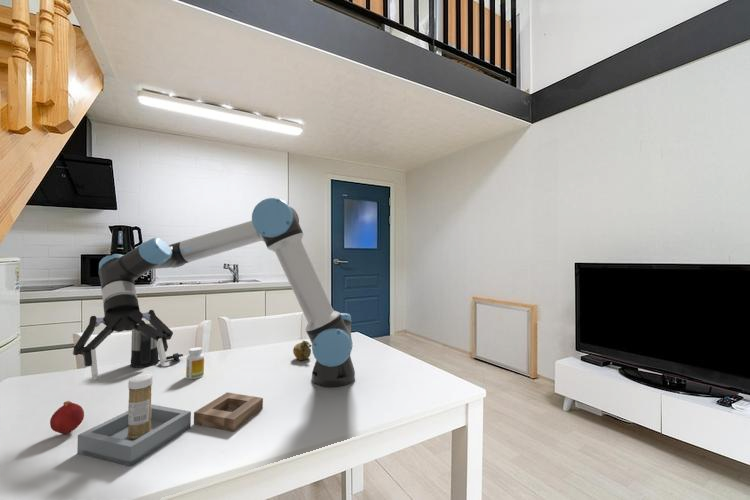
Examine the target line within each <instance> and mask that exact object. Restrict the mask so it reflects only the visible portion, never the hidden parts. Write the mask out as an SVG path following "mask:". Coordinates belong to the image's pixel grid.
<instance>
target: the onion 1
mask: <svg viewBox="0 0 750 500" xmlns="http://www.w3.org/2000/svg"><path fill="white" fill-rule="evenodd" d="M84 418H85V410H84V409H83V407H82V405H79V404H77V403H74V402H72V401H70V400H66V401H64V402H63V405H62V406H60V407H59V408H58V409H57V410H56V411H55V412H54V413H53V414H52V416H51V417H50V420H49V424H50V429H51V430H52V431H53V432H55V433H59V434H62V435H64V436H65V435H66V436H67V435H69V434H71V433H72V432H73V431H75V430H76V429H77V428H78V427H79V426H80V425H81V423H83V421H84Z"/></svg>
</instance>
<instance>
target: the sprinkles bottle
mask: <svg viewBox="0 0 750 500" xmlns="http://www.w3.org/2000/svg"><path fill="white" fill-rule="evenodd" d="M153 379H154V377H153V375H152V374H149V373H147V374H145V373H144V374H139V375H134V376H132V377H130V378H129V379H128V383H127V384H128V385H127V387H128V407H127V408H128V410H127V411H128V435H127V437H128V438H129V439H138V438H140V437H141V436H143V435H145V434H147V433H148V432H150V431H151V404H152V385H153V383H154V382H153Z"/></svg>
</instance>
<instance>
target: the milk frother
mask: <svg viewBox="0 0 750 500" xmlns="http://www.w3.org/2000/svg"><path fill="white" fill-rule="evenodd" d="M147 324H148V325H150V326H151V327H153V328H155V327H154V326H153V325H152V324H151V323H150V322H149V323H147ZM155 329H156V328H155ZM156 330H157V329H156ZM156 344H157V341H156V340H155V339H153V338H151V337H150V336H148V335H146V334H144V333H143V332H141V331H137V330H135V329H132V330H131V348H130V351H131V352H130V353H131V355H130V357H131V358H130V364H129V366H130V367H131V368H143V367H144V368H146V367H150V366H155V365H156V364H158V363H160V359H159V354H158V349H157V345H156ZM180 357H184V354H182V353H180V354H179V353H178V352H175V353H173V354H172V355H170V356H166V361H168V360H172V359H173V361H177V360H179V359H180Z"/></svg>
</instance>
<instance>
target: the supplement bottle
mask: <svg viewBox="0 0 750 500" xmlns="http://www.w3.org/2000/svg"><path fill="white" fill-rule="evenodd" d="M188 354H189V355H188V356H187V357H186V367H185V368H186V369H185V371H186V373H185V375H186V376H185V377H186V379H188V380H194V379H195V380H196V379H199V378H202V377H203V376H204V374H205V373H204V372H205V354H204V353H203V347H200V346H199V347H196V346H195V347H191V348H189V350H188Z"/></svg>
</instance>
